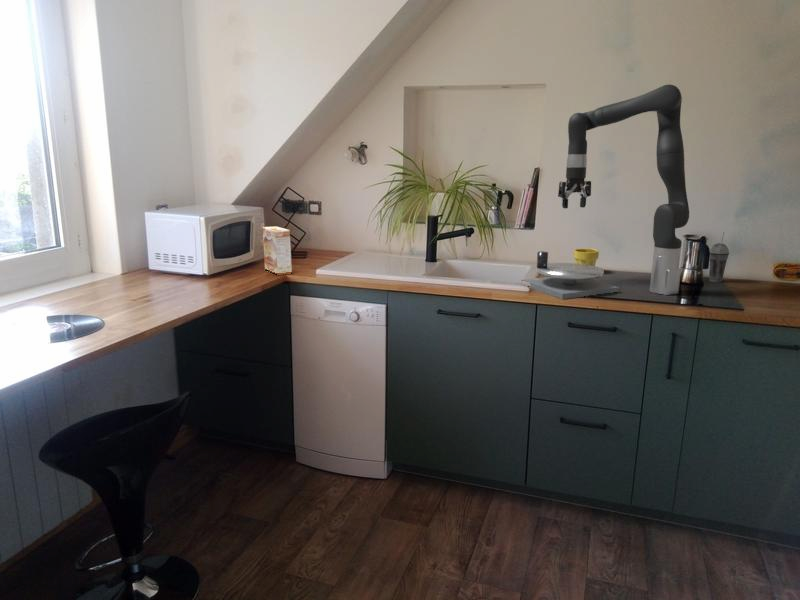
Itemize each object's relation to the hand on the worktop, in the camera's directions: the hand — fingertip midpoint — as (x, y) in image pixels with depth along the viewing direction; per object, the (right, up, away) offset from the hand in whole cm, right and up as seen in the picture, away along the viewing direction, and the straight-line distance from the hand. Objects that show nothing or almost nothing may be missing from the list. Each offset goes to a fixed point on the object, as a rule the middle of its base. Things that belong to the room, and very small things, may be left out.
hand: (573, 207), depth 240 cm
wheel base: (-4, -32, -6) cm, 33 cm away
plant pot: (+12, -25, +25) cm, 37 cm away
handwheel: (-4, -26, -7) cm, 27 cm away
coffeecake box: (-123, -25, +26) cm, 128 cm away
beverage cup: (+60, -29, +7) cm, 67 cm away
